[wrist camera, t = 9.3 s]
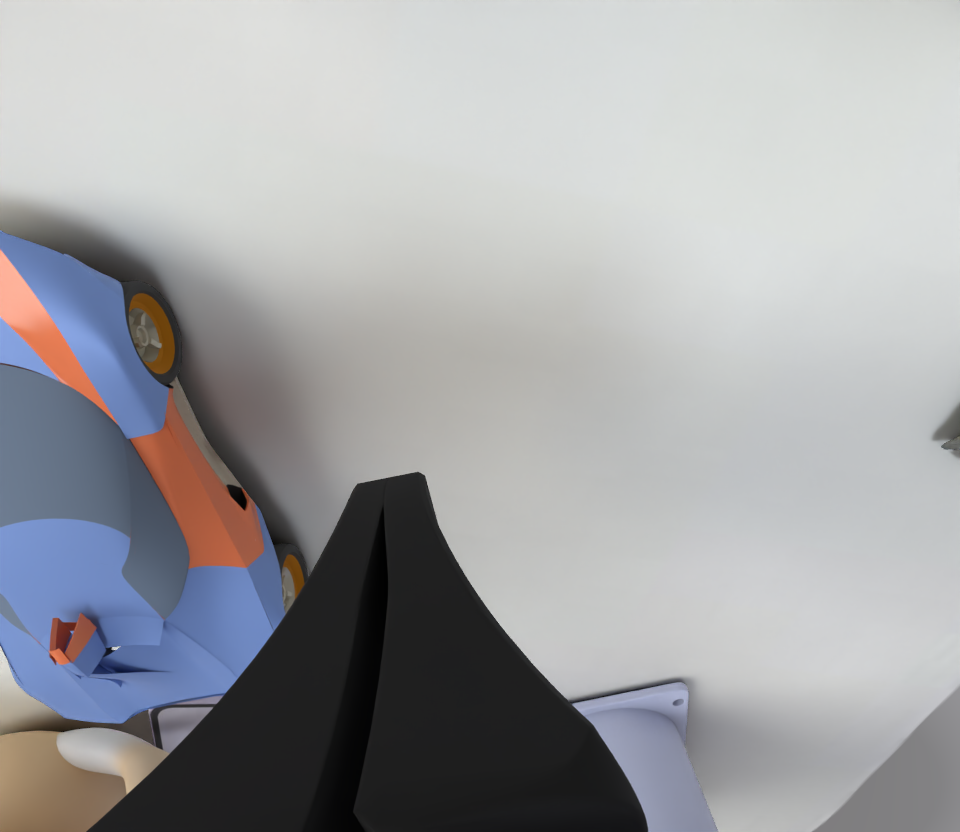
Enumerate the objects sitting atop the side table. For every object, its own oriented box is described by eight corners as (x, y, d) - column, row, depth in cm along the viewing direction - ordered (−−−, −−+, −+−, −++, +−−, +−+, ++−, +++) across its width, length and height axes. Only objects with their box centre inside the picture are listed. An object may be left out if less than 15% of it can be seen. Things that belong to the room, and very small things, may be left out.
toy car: (131, 166, 13) (-1, 238, 9) (326, 602, 22) (309, 753, 17) (-237, 232, 13) (-560, 340, 9) (104, 646, 21) (29, 809, 17)
